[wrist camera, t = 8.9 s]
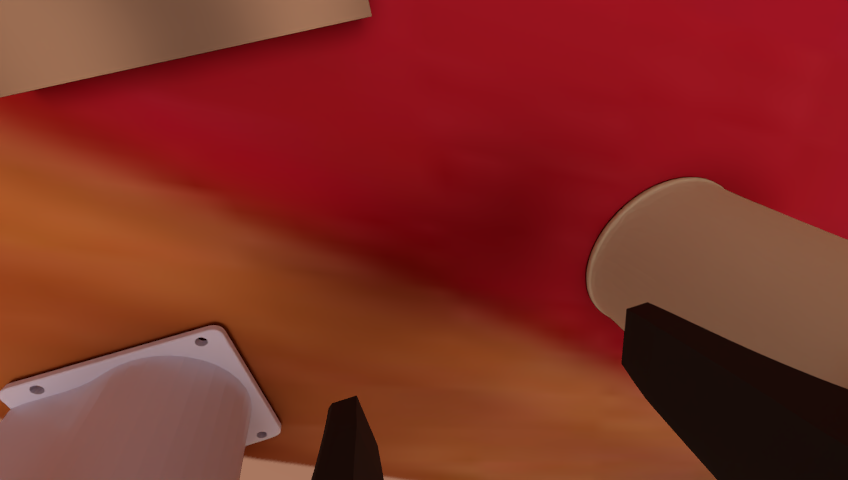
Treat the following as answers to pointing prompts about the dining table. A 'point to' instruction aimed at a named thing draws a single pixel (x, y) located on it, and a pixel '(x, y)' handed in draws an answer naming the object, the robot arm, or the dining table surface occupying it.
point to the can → (729, 273)
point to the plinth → (141, 33)
